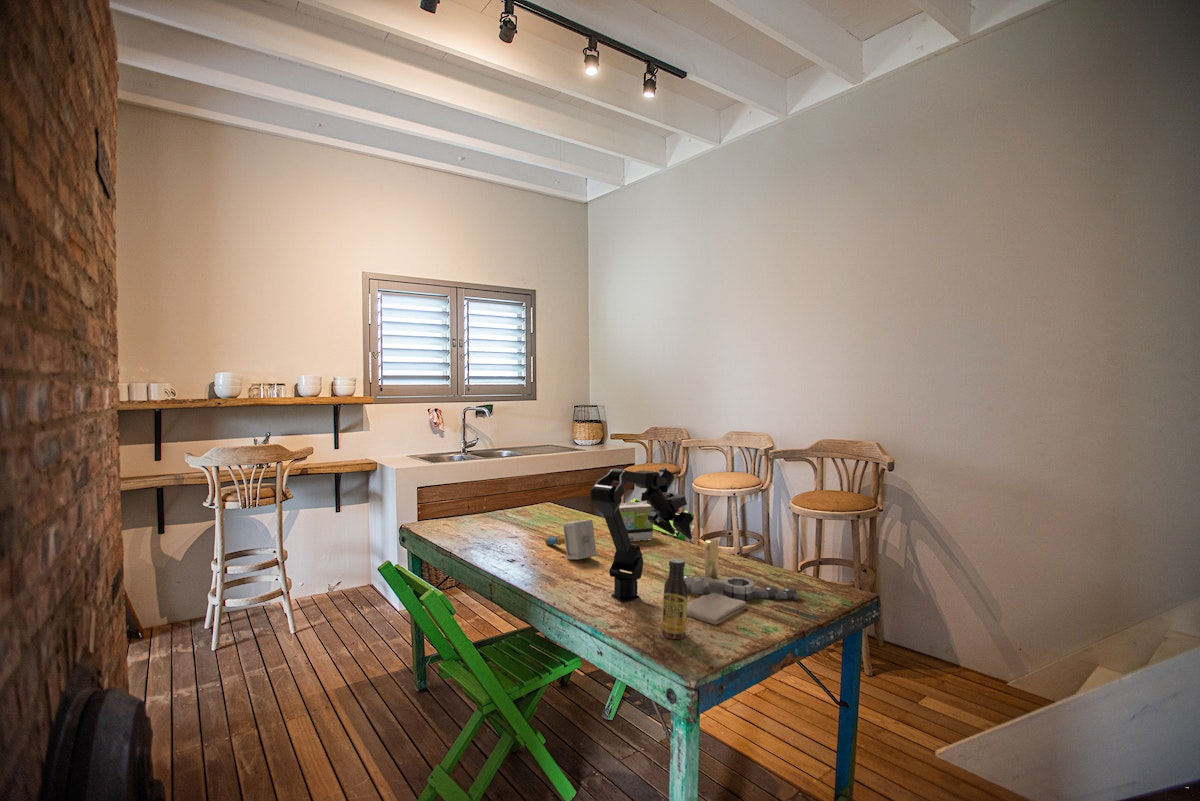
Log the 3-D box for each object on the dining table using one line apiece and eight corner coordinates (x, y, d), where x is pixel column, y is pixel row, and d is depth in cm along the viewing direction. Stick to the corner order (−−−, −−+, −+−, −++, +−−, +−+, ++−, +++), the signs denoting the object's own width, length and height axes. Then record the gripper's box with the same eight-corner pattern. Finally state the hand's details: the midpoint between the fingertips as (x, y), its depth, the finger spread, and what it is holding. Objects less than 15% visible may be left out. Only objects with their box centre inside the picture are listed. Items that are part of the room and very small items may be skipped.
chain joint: (681, 596, 181) (681, 580, 181) (682, 586, 190) (682, 571, 190) (799, 604, 175) (799, 588, 174) (794, 593, 184) (794, 578, 184)
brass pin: (711, 582, 194) (711, 543, 193) (701, 578, 197) (702, 540, 197) (720, 580, 196) (721, 541, 196) (711, 576, 200) (711, 538, 199)
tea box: (620, 543, 241) (620, 507, 240) (611, 537, 250) (611, 503, 250) (653, 540, 246) (653, 505, 246) (643, 534, 256) (643, 500, 255)
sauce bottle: (659, 638, 151) (659, 562, 150) (665, 629, 157) (665, 555, 156) (684, 642, 148) (684, 564, 148) (689, 632, 154) (690, 558, 154)
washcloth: (748, 609, 172) (748, 598, 172) (716, 627, 159) (716, 616, 158) (712, 599, 180) (712, 589, 180) (679, 616, 166) (679, 605, 166)
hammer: (540, 559, 236) (579, 559, 212) (536, 525, 238) (574, 522, 214) (558, 556, 241) (598, 555, 216) (554, 523, 243) (593, 519, 219)
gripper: (691, 488, 189) (714, 523, 194) (657, 483, 206) (680, 516, 210) (669, 512, 185) (694, 547, 189) (637, 504, 201) (660, 538, 205)
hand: (682, 536), depth 199 cm, fingers open, 9 cm apart
